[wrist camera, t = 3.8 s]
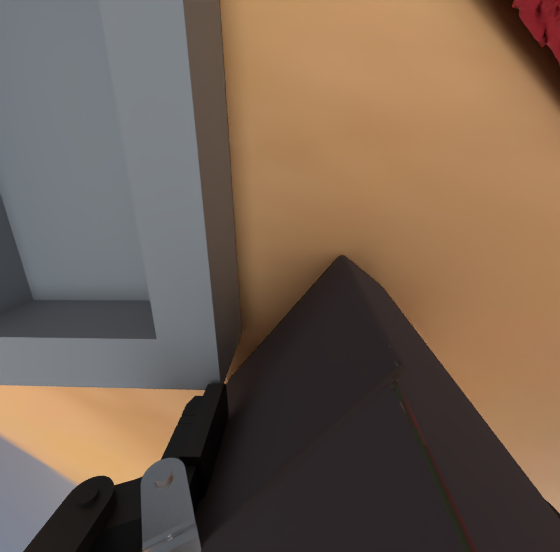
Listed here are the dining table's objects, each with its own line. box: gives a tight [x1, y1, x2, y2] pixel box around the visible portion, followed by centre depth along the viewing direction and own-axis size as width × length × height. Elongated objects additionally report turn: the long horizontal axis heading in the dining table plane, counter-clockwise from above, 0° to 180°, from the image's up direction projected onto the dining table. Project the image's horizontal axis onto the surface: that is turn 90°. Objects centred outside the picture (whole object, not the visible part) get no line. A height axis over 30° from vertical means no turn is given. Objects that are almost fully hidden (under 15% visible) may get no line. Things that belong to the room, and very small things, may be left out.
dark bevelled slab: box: [195, 255, 560, 552], centre depth 10 cm, size 11×4×15 cm, turn 142°
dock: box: [0, 0, 242, 390], centre depth 12 cm, size 14×21×5 cm, turn 1°
